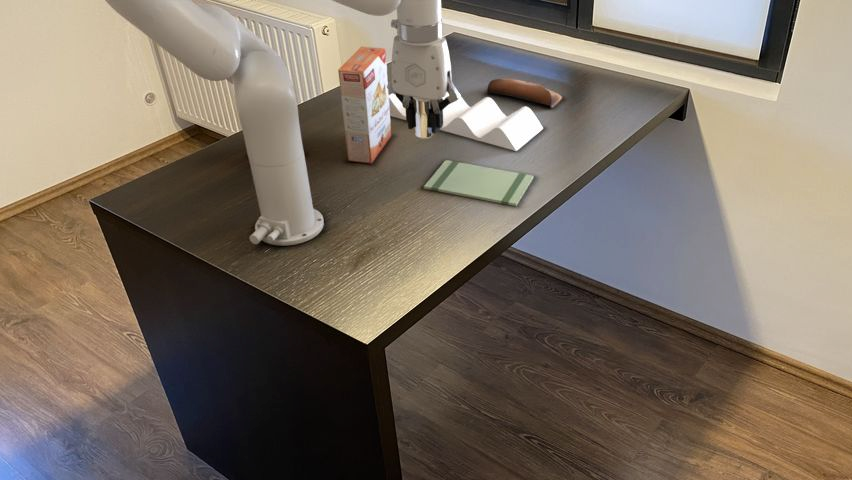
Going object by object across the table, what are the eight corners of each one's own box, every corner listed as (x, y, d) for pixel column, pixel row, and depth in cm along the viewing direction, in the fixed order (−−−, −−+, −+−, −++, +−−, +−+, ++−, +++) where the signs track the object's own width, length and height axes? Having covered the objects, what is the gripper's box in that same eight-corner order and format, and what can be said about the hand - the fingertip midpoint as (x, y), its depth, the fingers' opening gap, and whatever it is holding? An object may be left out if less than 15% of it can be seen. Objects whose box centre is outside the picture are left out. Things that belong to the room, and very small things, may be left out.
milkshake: (429, 144, 137) (430, 93, 131) (406, 135, 139) (406, 85, 133) (444, 135, 140) (446, 85, 134) (421, 127, 142) (422, 77, 136)
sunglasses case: (564, 95, 190) (560, 78, 184) (553, 117, 188) (549, 101, 182) (501, 81, 197) (495, 65, 191) (490, 103, 195) (484, 86, 189)
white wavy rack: (516, 151, 167) (516, 130, 164) (389, 115, 181) (388, 95, 178) (543, 128, 176) (544, 108, 173) (420, 96, 190) (419, 77, 187)
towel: (516, 206, 149) (516, 203, 148) (423, 188, 154) (423, 186, 153) (533, 177, 158) (533, 175, 157) (445, 162, 163) (445, 159, 162)
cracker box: (373, 165, 161) (364, 71, 149) (347, 162, 162) (335, 69, 149) (393, 136, 172) (386, 47, 159) (368, 133, 173) (359, 44, 160)
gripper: (365, 30, 127) (375, 129, 138) (457, 44, 123) (459, 144, 134) (385, 17, 133) (393, 113, 144) (473, 29, 128) (474, 127, 140)
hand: (425, 127), depth 139 cm, fingers closed on milkshake, 4 cm apart
